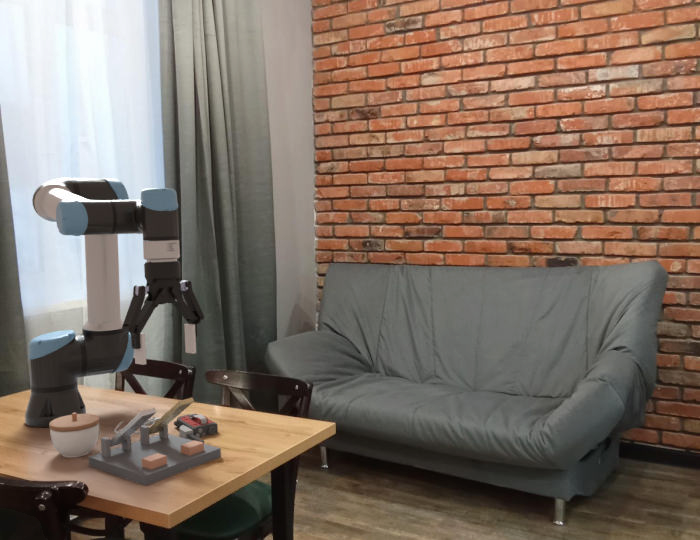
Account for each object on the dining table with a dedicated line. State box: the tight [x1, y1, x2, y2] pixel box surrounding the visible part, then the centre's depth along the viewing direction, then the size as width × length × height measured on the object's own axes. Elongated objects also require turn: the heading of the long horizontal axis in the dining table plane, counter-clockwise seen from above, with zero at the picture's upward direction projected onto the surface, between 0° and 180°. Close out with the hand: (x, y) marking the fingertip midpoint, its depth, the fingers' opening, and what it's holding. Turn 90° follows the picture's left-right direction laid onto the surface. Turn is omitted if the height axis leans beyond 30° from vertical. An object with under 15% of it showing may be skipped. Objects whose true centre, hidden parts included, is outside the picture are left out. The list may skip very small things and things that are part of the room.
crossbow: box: [113, 416, 161, 435], centre depth 178 cm, size 16×13×2 cm
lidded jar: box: [48, 413, 101, 459], centre depth 158 cm, size 11×11×9 cm
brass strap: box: [149, 397, 195, 436], centre depth 155 cm, size 16×4×2 cm
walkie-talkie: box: [173, 412, 219, 444], centre depth 170 cm, size 9×4×20 cm
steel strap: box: [110, 407, 157, 448], centre depth 147 cm, size 16×4×2 cm
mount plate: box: [88, 424, 222, 487], centre depth 151 cm, size 20×20×6 cm
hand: (166, 358), depth 149 cm, fingers open, 13 cm apart
